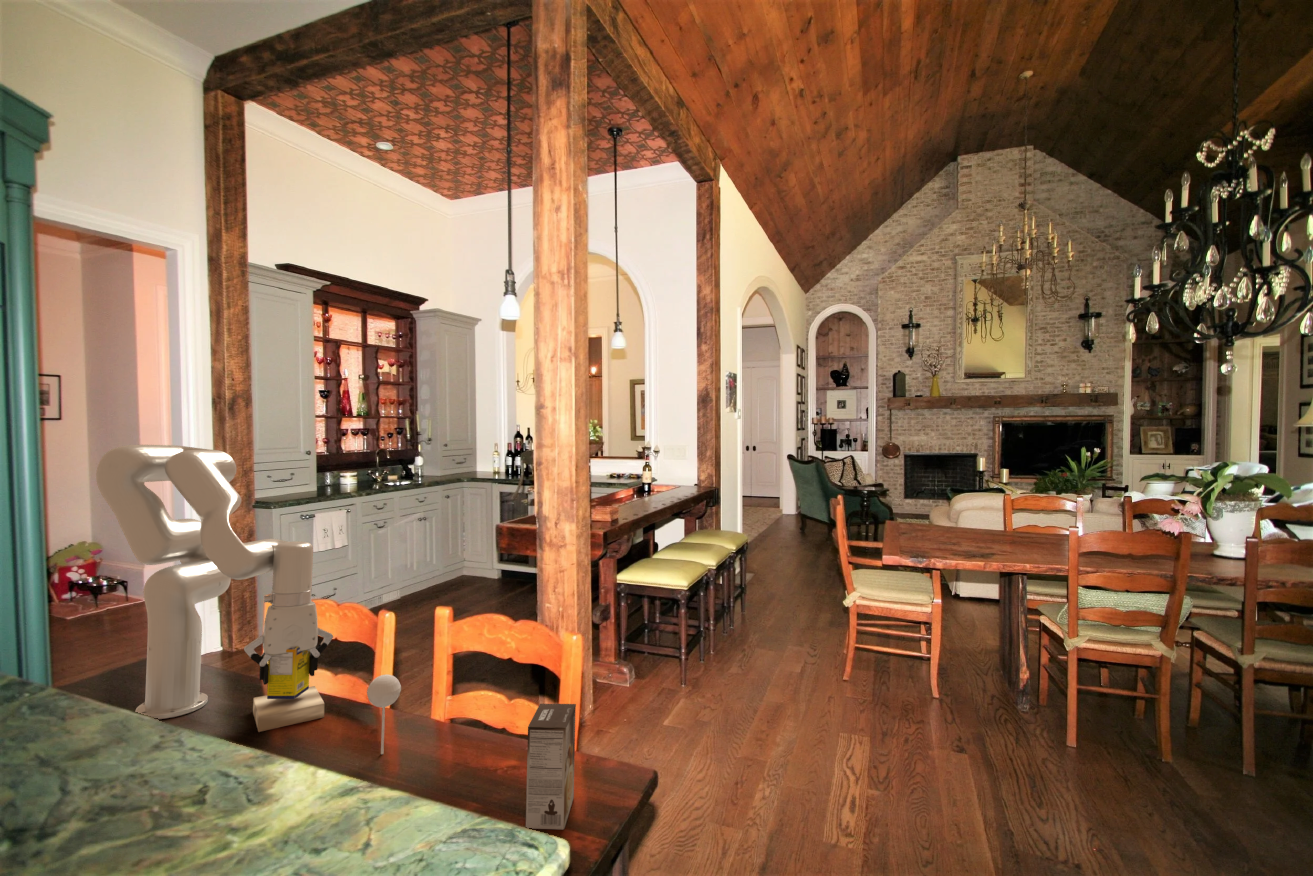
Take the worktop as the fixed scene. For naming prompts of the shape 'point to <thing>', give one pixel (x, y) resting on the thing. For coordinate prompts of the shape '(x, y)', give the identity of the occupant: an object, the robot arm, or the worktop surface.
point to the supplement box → (288, 674)
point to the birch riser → (287, 710)
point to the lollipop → (383, 696)
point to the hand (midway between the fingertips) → (288, 678)
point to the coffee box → (550, 766)
